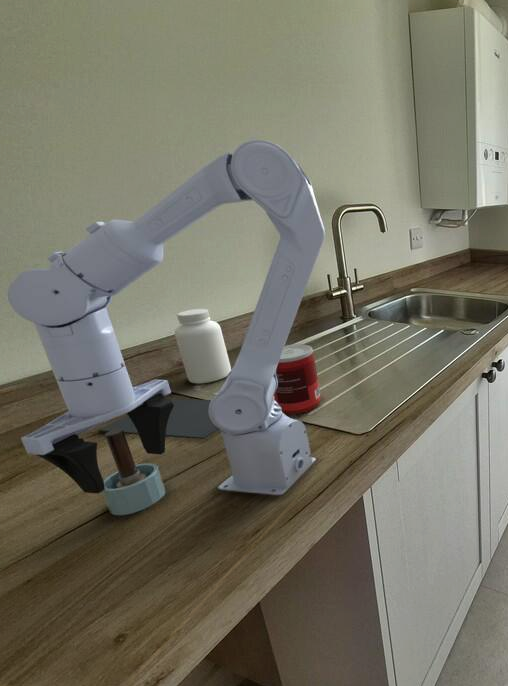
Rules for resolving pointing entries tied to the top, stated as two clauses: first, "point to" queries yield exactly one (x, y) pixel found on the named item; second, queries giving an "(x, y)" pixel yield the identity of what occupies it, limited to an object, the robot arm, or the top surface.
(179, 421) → the mat
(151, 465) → the bowl
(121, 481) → the brush
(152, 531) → the top surface
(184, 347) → the pill bottle
